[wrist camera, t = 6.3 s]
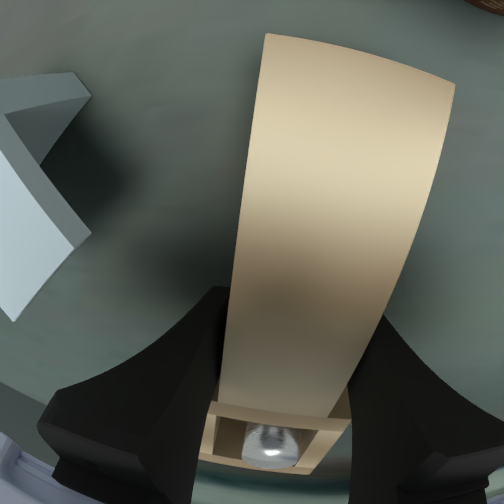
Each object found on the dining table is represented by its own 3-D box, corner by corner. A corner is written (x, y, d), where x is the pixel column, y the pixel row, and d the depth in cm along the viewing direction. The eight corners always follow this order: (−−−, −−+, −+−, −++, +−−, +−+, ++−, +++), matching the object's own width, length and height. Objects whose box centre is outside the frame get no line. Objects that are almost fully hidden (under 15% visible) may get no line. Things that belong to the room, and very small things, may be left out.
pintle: (294, 398, 16) (290, 471, 12) (250, 391, 16) (238, 464, 12) (305, 371, 15) (304, 451, 11) (257, 364, 15) (245, 444, 11)
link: (310, 414, 17) (308, 474, 13) (207, 398, 17) (192, 457, 13) (425, 91, 8) (490, 101, 5) (244, 50, 9) (214, 28, 5)
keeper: (158, 178, 11) (74, 248, 6) (86, 247, 13) (13, 322, 8) (73, 72, 9) (-37, 87, 5) (16, 156, 11) (-72, 201, 6)
